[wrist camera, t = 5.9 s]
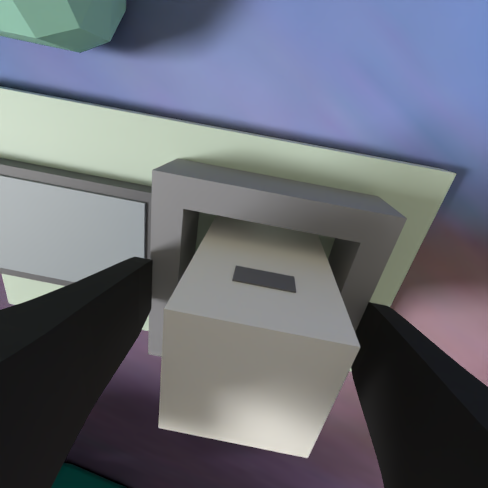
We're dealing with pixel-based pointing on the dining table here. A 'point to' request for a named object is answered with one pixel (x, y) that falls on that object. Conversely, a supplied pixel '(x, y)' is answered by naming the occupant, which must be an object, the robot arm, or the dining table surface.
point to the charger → (255, 339)
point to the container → (61, 22)
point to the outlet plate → (192, 199)
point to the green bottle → (81, 478)
